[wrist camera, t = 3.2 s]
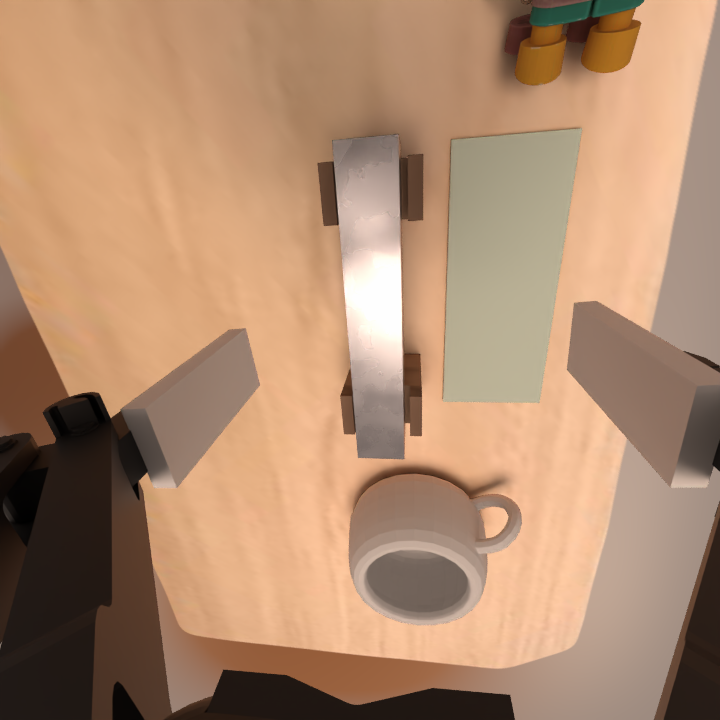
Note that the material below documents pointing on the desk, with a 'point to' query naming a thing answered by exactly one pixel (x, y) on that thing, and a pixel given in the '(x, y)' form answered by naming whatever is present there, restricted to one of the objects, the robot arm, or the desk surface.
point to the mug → (423, 548)
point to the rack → (410, 211)
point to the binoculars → (572, 36)
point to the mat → (504, 261)
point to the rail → (373, 287)
